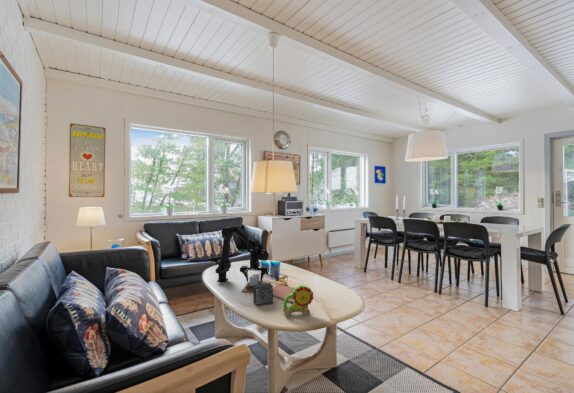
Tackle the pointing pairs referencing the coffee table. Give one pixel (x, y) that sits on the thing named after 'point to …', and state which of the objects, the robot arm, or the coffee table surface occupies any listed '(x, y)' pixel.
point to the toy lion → (298, 301)
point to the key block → (254, 279)
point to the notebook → (283, 293)
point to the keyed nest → (250, 287)
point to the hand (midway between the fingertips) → (254, 281)
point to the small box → (262, 294)
